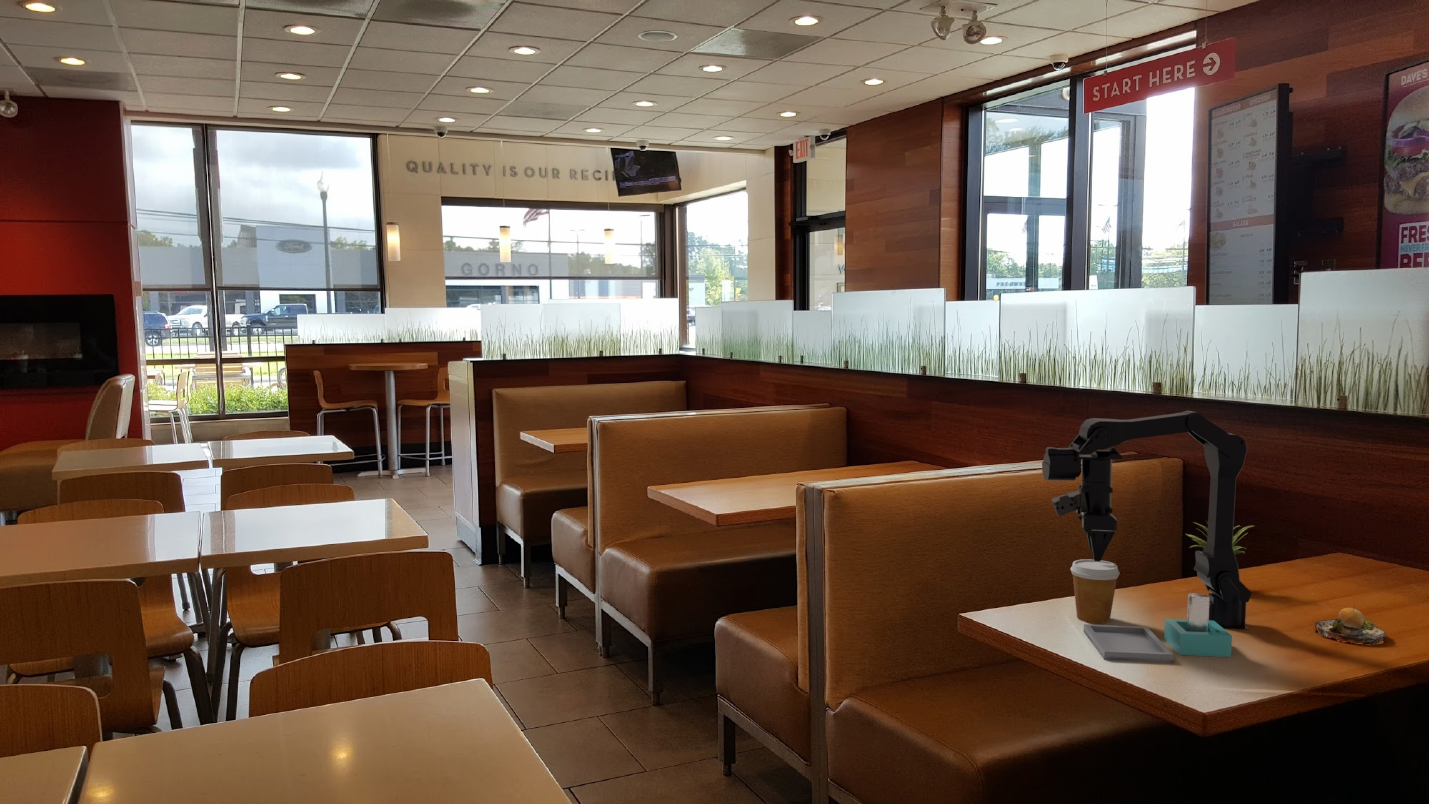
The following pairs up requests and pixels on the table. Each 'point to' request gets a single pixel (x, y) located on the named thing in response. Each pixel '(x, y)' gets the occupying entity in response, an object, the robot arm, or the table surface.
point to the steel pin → (1197, 612)
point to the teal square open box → (1197, 639)
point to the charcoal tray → (1127, 643)
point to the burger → (1350, 628)
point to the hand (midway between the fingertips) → (1095, 555)
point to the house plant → (1203, 543)
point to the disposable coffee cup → (1094, 589)
